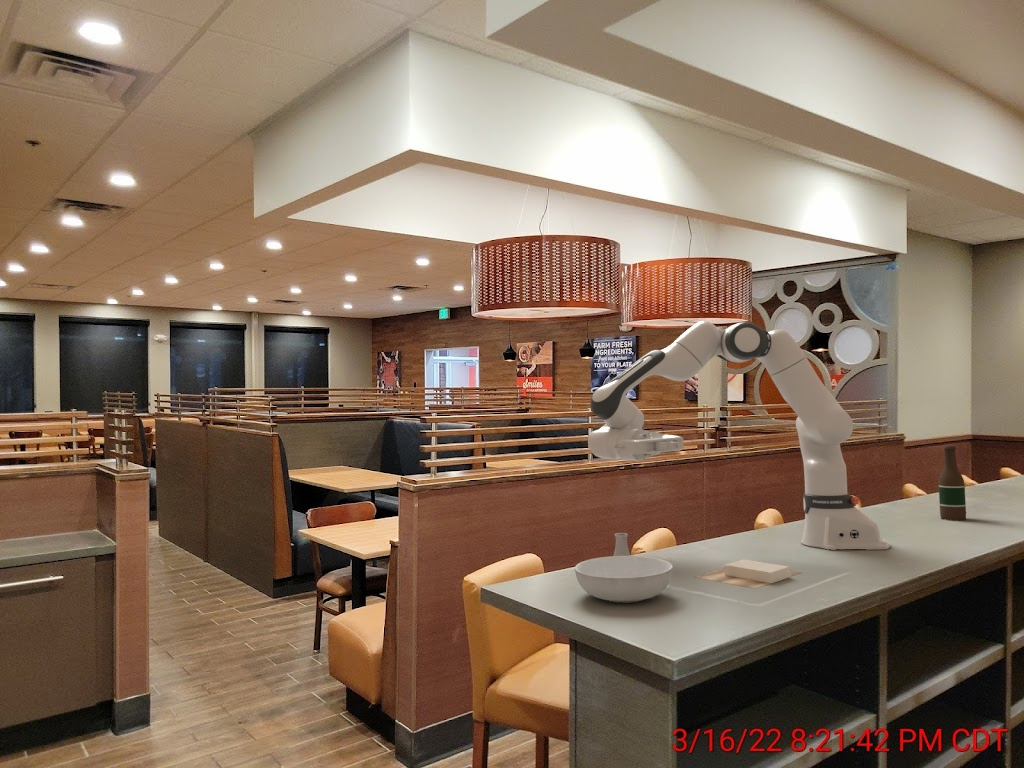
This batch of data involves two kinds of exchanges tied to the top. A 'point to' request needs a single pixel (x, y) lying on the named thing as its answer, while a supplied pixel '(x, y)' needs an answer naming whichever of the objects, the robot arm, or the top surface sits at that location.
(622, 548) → the flask
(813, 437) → the robot arm
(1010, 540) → the top surface
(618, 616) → the top surface
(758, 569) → the tile
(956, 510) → the beer bottle
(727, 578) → the wooden board
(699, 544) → the top surface
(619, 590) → the serving bowl
